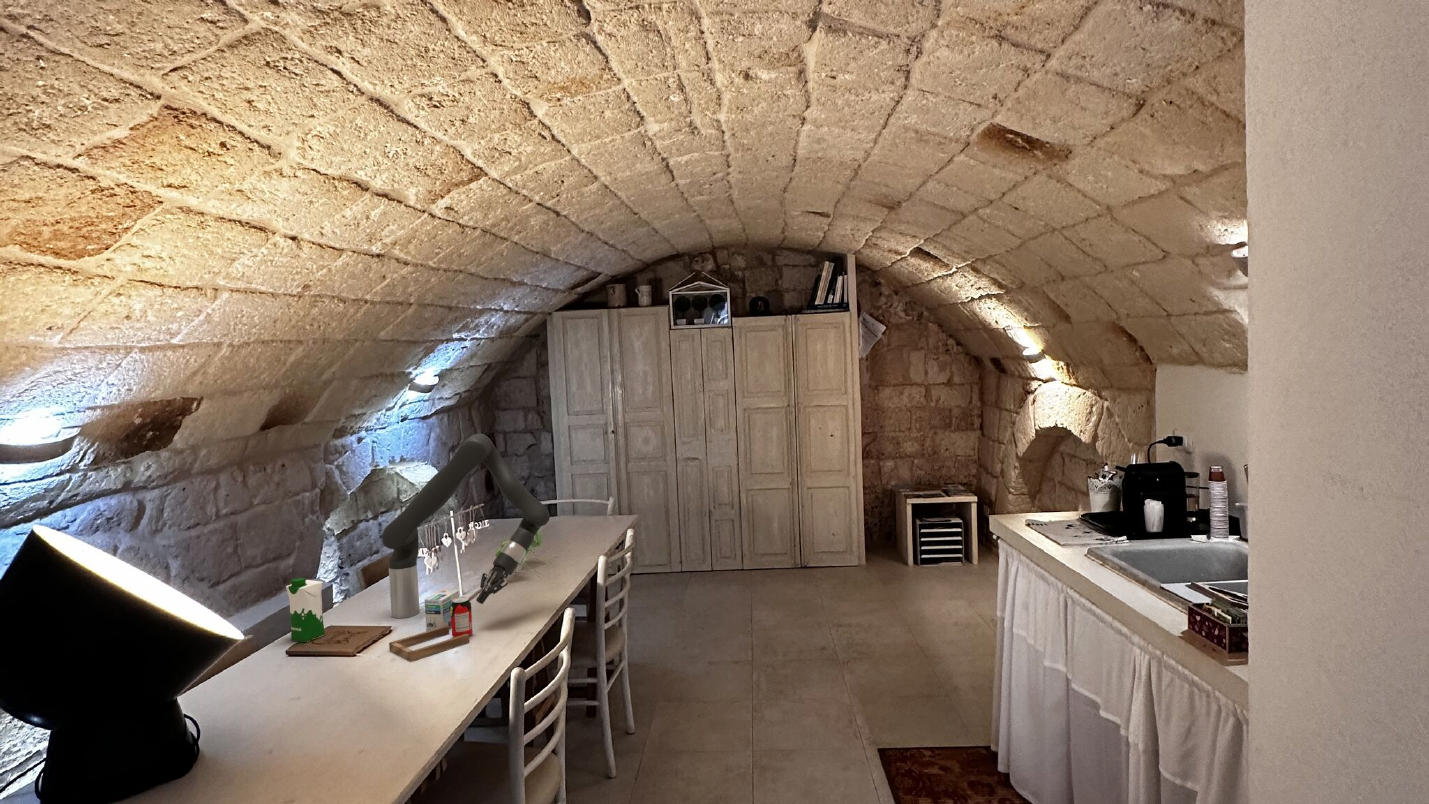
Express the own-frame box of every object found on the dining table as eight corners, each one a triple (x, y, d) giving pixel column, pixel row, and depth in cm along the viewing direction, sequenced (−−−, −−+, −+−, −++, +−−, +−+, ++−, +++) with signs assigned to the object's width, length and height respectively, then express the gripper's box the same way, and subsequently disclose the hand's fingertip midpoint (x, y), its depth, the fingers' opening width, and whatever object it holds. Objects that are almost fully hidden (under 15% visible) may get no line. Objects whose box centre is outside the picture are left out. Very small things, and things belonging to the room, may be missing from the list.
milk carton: (286, 641, 247) (282, 580, 246) (311, 631, 255) (307, 572, 254) (305, 644, 243) (300, 582, 242) (329, 634, 251) (326, 574, 250)
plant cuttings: (550, 577, 334) (508, 547, 335) (571, 546, 332) (530, 516, 333) (523, 603, 299) (477, 570, 300) (547, 569, 297) (501, 535, 298)
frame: (389, 650, 235) (389, 642, 235) (447, 632, 249) (446, 625, 249) (410, 661, 226) (410, 653, 226) (469, 642, 240) (469, 634, 240)
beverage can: (475, 632, 249) (473, 596, 248) (469, 639, 243) (467, 602, 242) (455, 633, 249) (453, 596, 248) (449, 640, 242) (447, 603, 242)
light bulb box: (444, 632, 250) (442, 600, 249) (425, 631, 251) (423, 599, 251) (461, 621, 260) (459, 590, 260) (443, 620, 262) (441, 589, 261)
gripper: (491, 548, 261) (460, 592, 252) (513, 554, 252) (482, 600, 243) (506, 560, 265) (476, 604, 257) (528, 566, 256) (497, 612, 248)
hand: (479, 602), depth 250 cm, fingers closed
